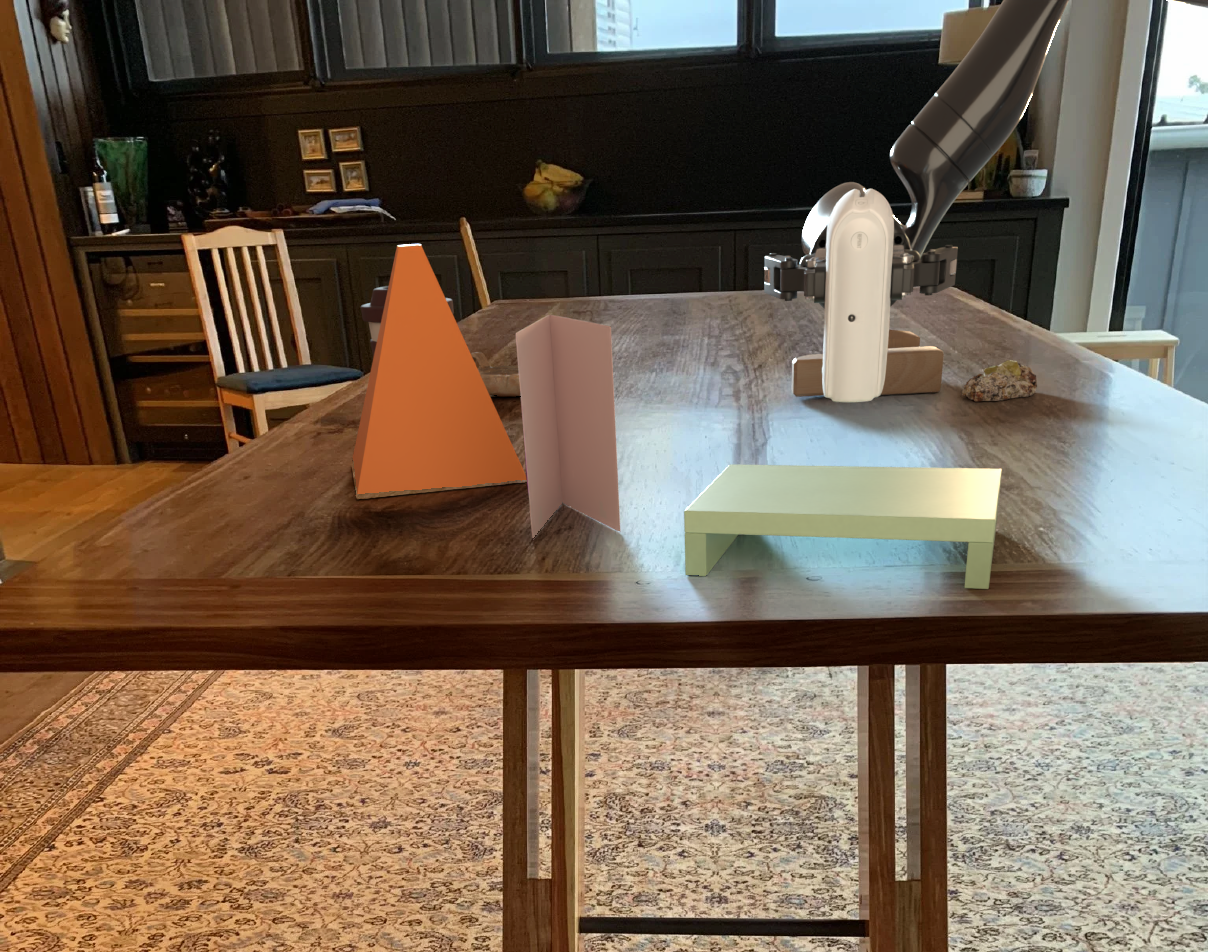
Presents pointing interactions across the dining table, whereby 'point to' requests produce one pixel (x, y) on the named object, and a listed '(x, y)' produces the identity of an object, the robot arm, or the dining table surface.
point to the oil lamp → (498, 377)
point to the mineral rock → (1001, 383)
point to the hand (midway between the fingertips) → (857, 283)
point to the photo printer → (857, 297)
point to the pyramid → (426, 396)
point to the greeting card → (568, 419)
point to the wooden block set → (904, 368)
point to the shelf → (847, 509)
